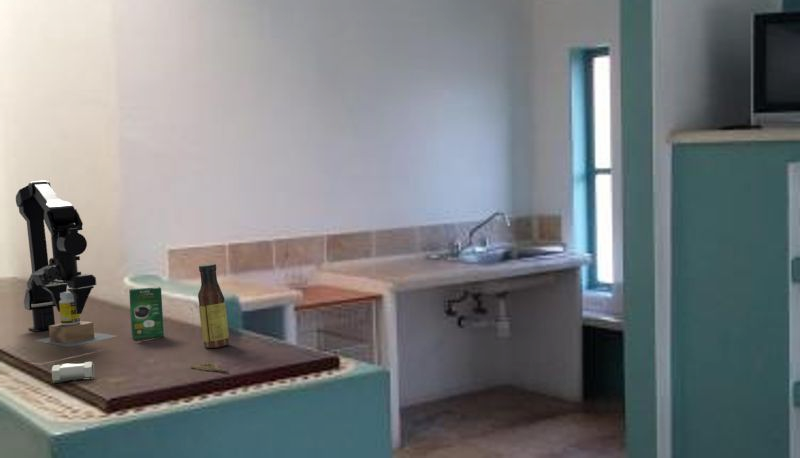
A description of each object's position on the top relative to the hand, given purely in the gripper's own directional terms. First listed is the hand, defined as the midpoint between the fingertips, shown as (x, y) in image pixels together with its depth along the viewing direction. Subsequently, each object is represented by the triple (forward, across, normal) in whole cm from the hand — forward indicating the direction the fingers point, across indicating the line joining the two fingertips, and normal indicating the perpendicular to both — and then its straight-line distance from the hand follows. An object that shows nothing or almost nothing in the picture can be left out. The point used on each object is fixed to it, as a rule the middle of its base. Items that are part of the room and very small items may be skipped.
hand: (69, 312), depth 240 cm
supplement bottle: (+3, 0, 0) cm, 3 cm away
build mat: (+7, 0, +1) cm, 7 cm away
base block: (+7, 0, 0) cm, 7 cm away
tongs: (+8, +64, -4) cm, 64 cm away
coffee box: (+8, +18, +11) cm, 22 cm away
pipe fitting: (+8, +41, -24) cm, 48 cm away
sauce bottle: (+8, +44, +12) cm, 46 cm away
